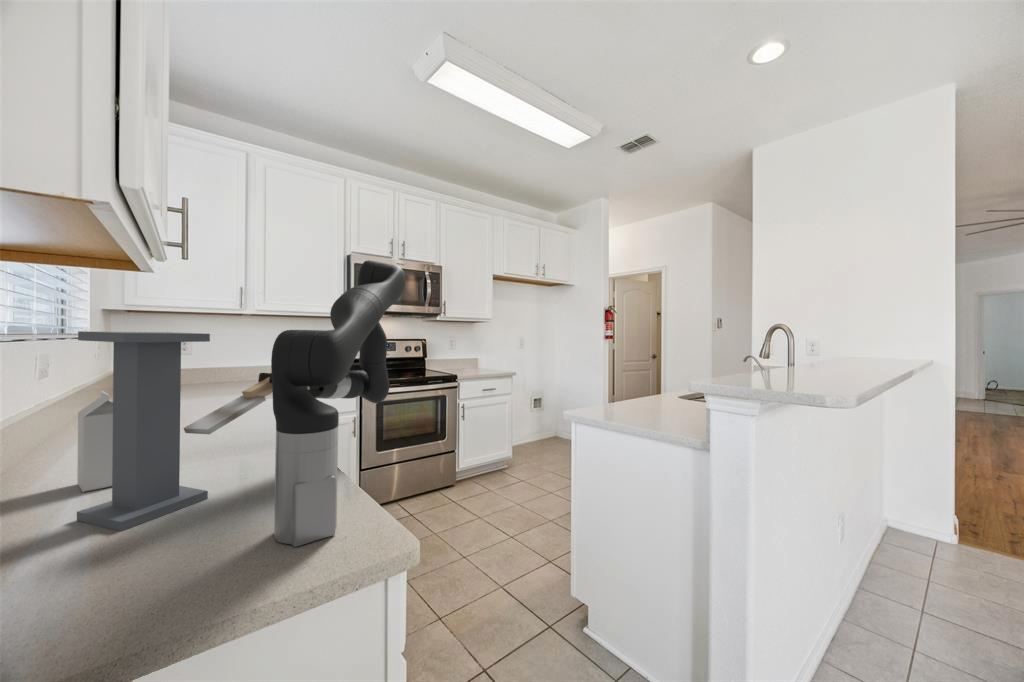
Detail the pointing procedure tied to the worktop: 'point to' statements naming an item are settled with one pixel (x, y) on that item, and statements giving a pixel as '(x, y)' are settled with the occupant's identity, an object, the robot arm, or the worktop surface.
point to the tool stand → (144, 429)
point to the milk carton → (95, 444)
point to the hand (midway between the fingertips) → (265, 377)
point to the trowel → (231, 409)
